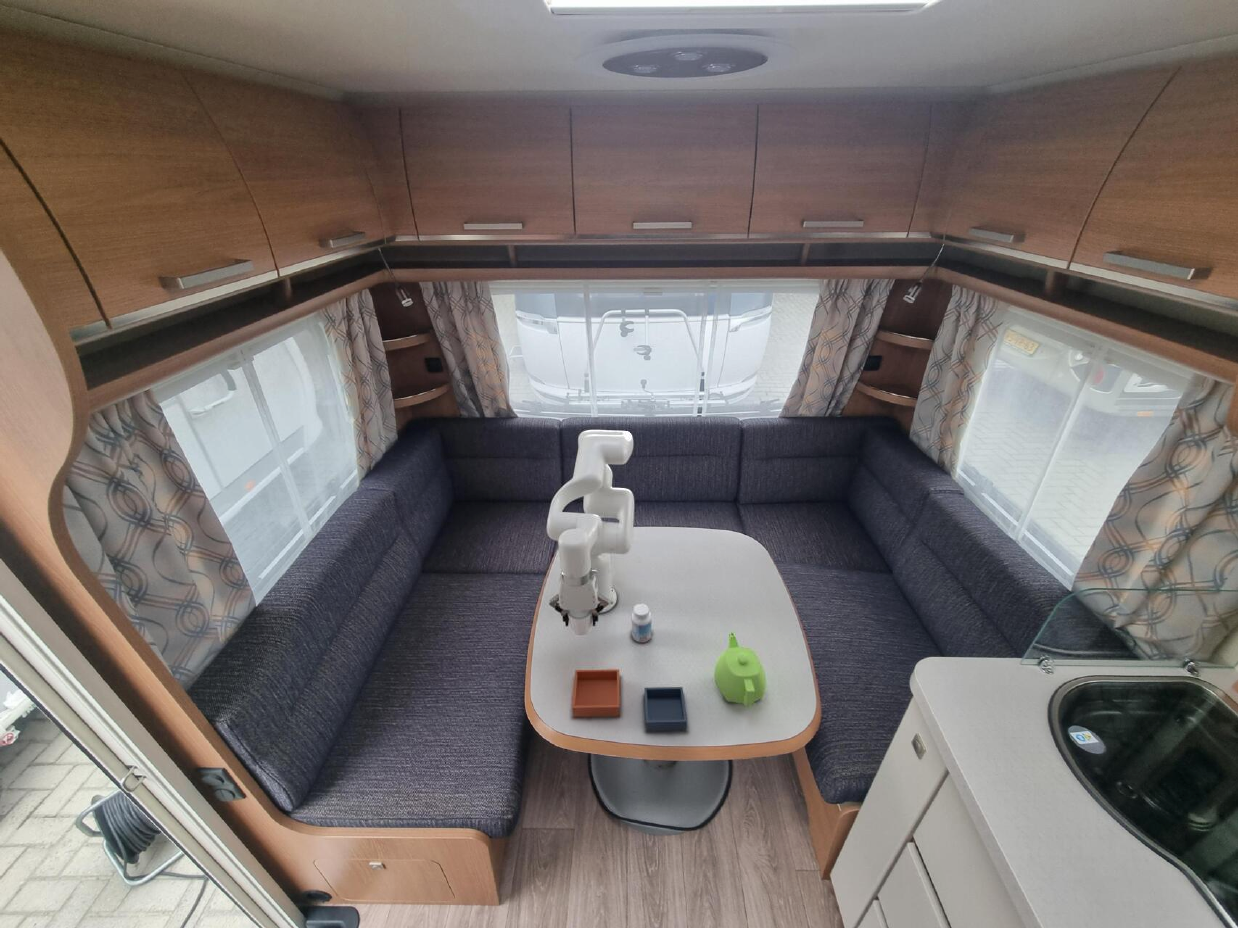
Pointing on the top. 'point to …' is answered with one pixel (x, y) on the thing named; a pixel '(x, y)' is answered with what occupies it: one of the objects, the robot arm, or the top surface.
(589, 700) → the orange brown square tray
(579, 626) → the shot glass
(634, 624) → the pill bottle
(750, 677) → the teapot
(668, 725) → the bin
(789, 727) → the top surface
